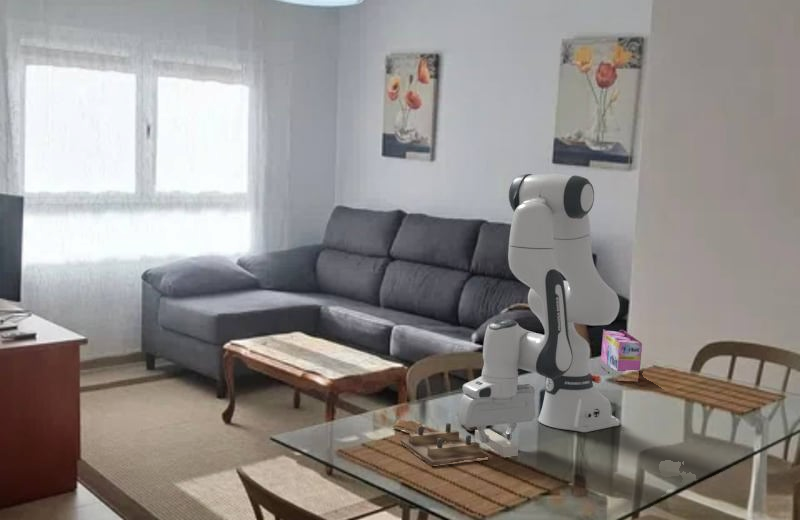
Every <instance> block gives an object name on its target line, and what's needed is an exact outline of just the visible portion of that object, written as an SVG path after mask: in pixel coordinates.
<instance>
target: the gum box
mask: <svg viewBox="0 0 800 520" xmlns="http://www.w3.org/2000/svg"><path fill="white" fill-rule="evenodd" d="M602 331H603V332H602V339H601V340H602V342H601V352H600V353H601V355H600V361H601V360H602V361H603V362H604V363H605V364H607V365H609V366H610V367H611V368H613V369H614V370H616V371H626V370H639V369H640V370H641V360H642V351H643V343H642V342H641V341H640V340H639V339H637V338H636V337H634V336H633V335H631V334H630V333H628V332H627V331H625V330H624V329H619V330H618V331H614V330H607V329H605V328H604V329H602Z"/></svg>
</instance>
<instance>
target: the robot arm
mask: <svg viewBox="0 0 800 520" xmlns="http://www.w3.org/2000/svg"><path fill="white" fill-rule="evenodd" d="M508 201H509V206H510V207H511V209H512V211H513V212H514V214H513V215H512V220H511V225H510V226H511V227H510V230H509V231H510V232H509V238H508V252H507V258H508V259H507V260H508V266H509V270H510V271H511V273H512V275H514V276H515V278H516V279H517V280H519V281H520V282H521V283H523V284H524V285H526V286H527V287H529V288H530V289H529V291H528V294H527V303H528V306H529V309H530V311H531V313H533V314H534V315H535V316H536V317H537V319H539V321H540V323H541V324H542V327H543V329H544V334H542V333H538V332H537V333H536V332H534V331H531V330H527V329H525V328H523V327H521V326H520V325H519V322H517V321H516V320H514V319H510V318H501V319H495V320H493V321H491V322H489V323H488V325H487V326H486V329H485V334H484V339H483V345H482V346H483V347H482V359H483V367H482V370H481V376H479V377H477V378H475V379H473V380H470V381H468V382H465V383H464V384H463V385H462V392H463V395H462V396H461V398H460V400H459V407H458V412H459V416H458V415H457V417H458V422H459V423H460V425H461V426H463V427H464V426H465V427H477V429H478V431H479V433H480V435H481V436H480V441H481V442H482V443H488V442H489V436H488V435H487V434H485V431H484V430H486V426H488V425H494V426H497V425H507V428H506V431H503V432H502V435H503V436H502V437H504V438H506V439H508V440H509V441H512V438H513V437H512V436H513V433H514V432H515V429H516V428H517V424H518V423H525V422H527V423H528V422H532V421H533V420H534V419H535V418H536V402H535V392H536V389H535V388H534V386H532V385H531V384H530V383H525V384H519V383H518V382H519V381H518V379H519V372H518V369H521V370H524V371H527V372H531V373H535V374H537V375H540V376H542V377H544V378H545V379H544V388H545V392H544V398H543V403H542V406H541V407H542V408H541V410H540V413H539V417H538V419H537V420H538V422H539V423H541V424H543V425H544V426H548V427H550V428H553V429H554V428H555V429H559V430H560V429H561V430H567V431H568V430H569V431H576V432H579V433H588V432H592V431H598V430H603V429H607V428H612V427H618V426H620V424H621V423H620V420H619V419H618V418H617V417H615V416H614V415H612V405H611V402H610V400H609V399H608V398H607V397H606V396H604V395H603V394H602V392H600V391H599V390H598V389H596V388H595V386H594V383H596V384H599V383H600V382H601V380H602V378H601V376H600V375H597V374H591V373H590V372H589V371H590V359H591V358H590V356H591V348H590V344H589V342H588V341H587V340H586V339H585V338H584V337H582V336H581V335H580V334H579V333H578V331H577V330H576V328H575V324H580V325H585V326H586V325H587V326H607V325H610V324H612V322H614V321H615V320H616V318H617V316H618V314H619V312H620V307H621V306H620V300H619V299H620V298H619V297H618V295H617V292H615V290H614V289H613V288H611V287H610V286H609V285H607V283H606V282H605V281H604V280H603V279H602V277H601V275H600V274H599V272H598V270H597V268H596V266H595V263H594V258H593V252H592V250H593V249H592V241H591V226H590V225H591V224H590V219H589V213H590V211H591V210H592V208H593V206H594V202H595V190H594V186H593V185H592V183H591V181H590V180H589V179H587V178H586V177H583V176H579V175H576V174H575V175H569V174H564V173H563V174H562V173H561V174H560V173H548V174H547V173H541V174H538V173H537V174H531V173H526V174H521V175H518V176H516V177H515V179H513V181H512V182H511V183H510V186H509V190H508ZM563 277H564V278H565V280H564V278H563ZM465 427H464V428H465Z"/></svg>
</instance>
